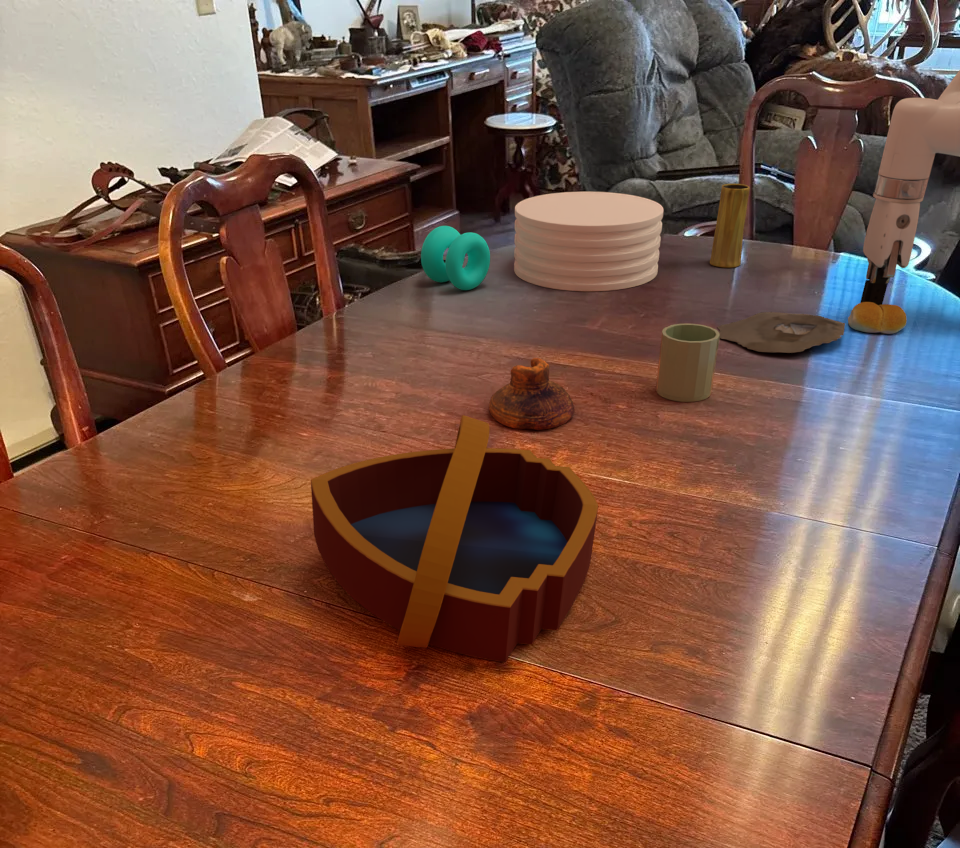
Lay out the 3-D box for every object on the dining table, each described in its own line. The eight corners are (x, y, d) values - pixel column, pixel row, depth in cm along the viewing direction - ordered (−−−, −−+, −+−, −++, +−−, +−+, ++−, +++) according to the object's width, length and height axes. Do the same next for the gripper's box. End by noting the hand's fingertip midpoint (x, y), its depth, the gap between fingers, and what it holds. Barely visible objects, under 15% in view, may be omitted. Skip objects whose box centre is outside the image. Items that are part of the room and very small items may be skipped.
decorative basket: (564, 702, 85) (601, 561, 76) (252, 632, 87) (252, 486, 78) (593, 522, 112) (623, 403, 103) (355, 471, 114) (364, 349, 105)
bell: (512, 438, 125) (513, 384, 121) (475, 405, 134) (474, 354, 129) (590, 422, 129) (593, 370, 124) (549, 391, 137) (551, 341, 133)
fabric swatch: (699, 338, 159) (699, 329, 158) (799, 307, 166) (800, 298, 165) (777, 368, 145) (778, 358, 144) (883, 333, 153) (884, 323, 152)
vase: (733, 270, 186) (745, 190, 178) (704, 265, 189) (714, 187, 181) (745, 262, 190) (756, 185, 182) (716, 258, 193) (726, 181, 185)
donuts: (458, 274, 185) (457, 220, 179) (493, 285, 179) (493, 229, 173) (418, 285, 180) (416, 229, 174) (453, 296, 174) (452, 239, 168)
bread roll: (908, 336, 155) (915, 311, 152) (851, 334, 156) (857, 309, 154) (898, 320, 161) (904, 295, 159) (844, 317, 163) (849, 293, 160)
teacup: (706, 381, 140) (714, 323, 135) (715, 402, 134) (724, 342, 129) (653, 381, 140) (658, 323, 135) (659, 402, 134) (666, 342, 129)
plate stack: (486, 276, 184) (486, 212, 178) (560, 244, 203) (563, 185, 196) (614, 300, 171) (619, 233, 165) (681, 264, 190) (688, 202, 183)
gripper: (941, 199, 144) (907, 320, 155) (908, 178, 156) (879, 292, 167) (891, 198, 145) (861, 319, 156) (862, 178, 157) (836, 292, 168)
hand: (870, 305), depth 161 cm, fingers closed
